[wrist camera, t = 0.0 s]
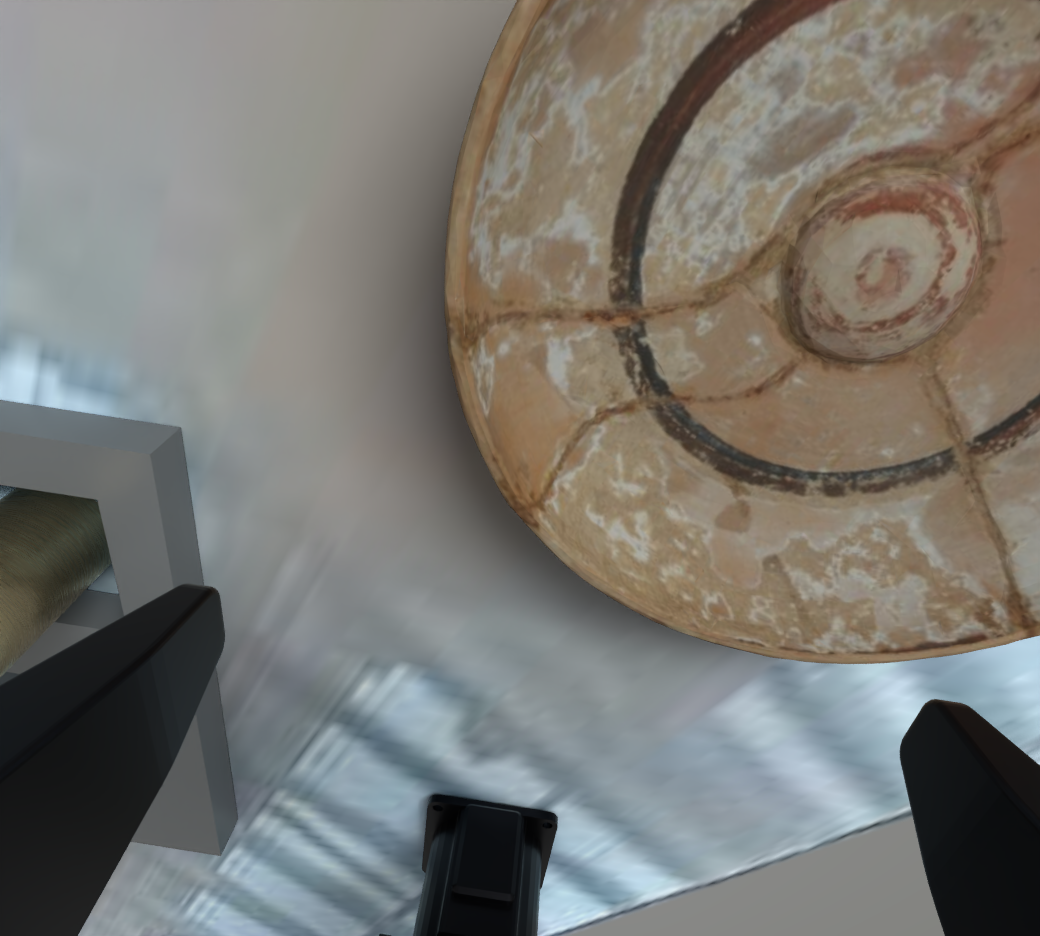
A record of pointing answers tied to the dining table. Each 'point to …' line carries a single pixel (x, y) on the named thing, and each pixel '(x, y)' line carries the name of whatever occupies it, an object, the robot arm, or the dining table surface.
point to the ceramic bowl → (764, 313)
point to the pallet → (130, 580)
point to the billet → (44, 563)
